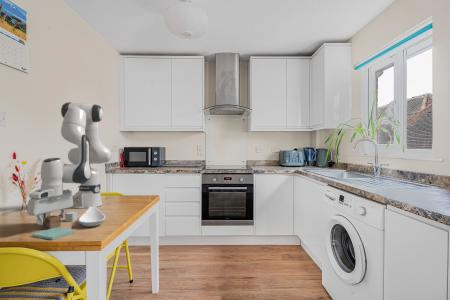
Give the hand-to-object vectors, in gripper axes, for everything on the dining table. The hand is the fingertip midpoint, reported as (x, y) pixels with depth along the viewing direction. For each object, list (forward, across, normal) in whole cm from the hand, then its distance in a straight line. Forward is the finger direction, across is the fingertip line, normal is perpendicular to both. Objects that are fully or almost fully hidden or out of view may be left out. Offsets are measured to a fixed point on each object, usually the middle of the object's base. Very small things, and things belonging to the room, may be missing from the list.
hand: (52, 220), depth 121 cm
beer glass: (+3, -3, -10) cm, 11 cm away
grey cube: (+3, -12, -2) cm, 13 cm away
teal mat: (+3, +7, +11) cm, 13 cm away
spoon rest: (+4, -13, +11) cm, 18 cm away
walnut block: (+3, 0, 0) cm, 3 cm away
